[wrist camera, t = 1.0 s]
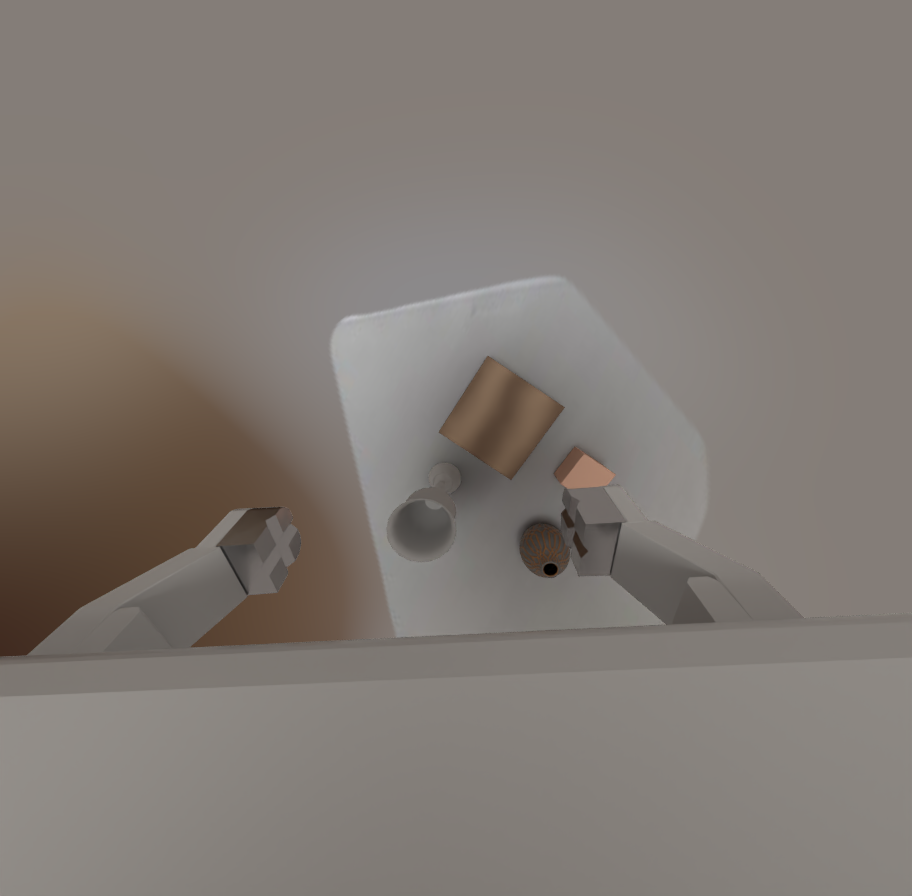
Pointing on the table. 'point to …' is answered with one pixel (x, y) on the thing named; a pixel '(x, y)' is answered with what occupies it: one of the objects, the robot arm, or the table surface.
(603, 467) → the block
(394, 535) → the chalice
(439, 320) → the table surface
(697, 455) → the table surface
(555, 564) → the vase
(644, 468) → the table surface
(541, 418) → the board
